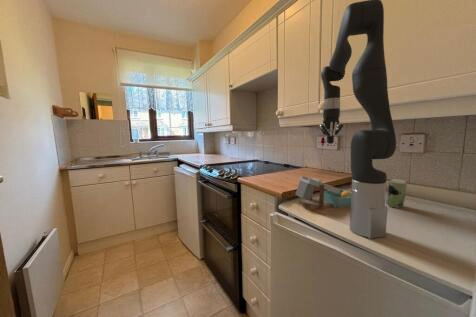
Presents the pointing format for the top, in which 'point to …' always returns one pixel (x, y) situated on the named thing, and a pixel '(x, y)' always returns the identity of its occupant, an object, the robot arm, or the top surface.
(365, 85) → the robot arm
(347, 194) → the ball
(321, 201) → the stand
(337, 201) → the teal square tray
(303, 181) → the chute
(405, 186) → the beverage can
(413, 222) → the top surface
